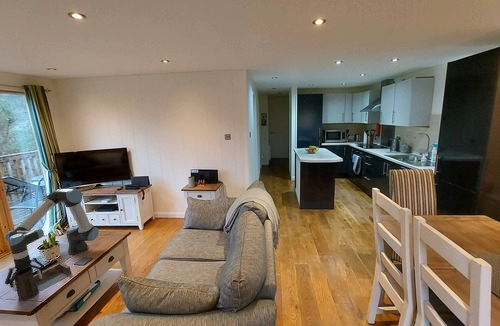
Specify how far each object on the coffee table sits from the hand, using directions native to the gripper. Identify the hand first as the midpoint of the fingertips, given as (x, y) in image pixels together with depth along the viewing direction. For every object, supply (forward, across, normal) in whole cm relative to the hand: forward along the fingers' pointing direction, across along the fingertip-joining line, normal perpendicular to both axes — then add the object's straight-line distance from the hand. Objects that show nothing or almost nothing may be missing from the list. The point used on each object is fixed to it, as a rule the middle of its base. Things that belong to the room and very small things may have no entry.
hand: (28, 284), depth 160 cm
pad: (+9, -14, -6) cm, 17 cm away
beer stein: (+10, 0, 0) cm, 10 cm away
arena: (+9, -15, -8) cm, 20 cm away
